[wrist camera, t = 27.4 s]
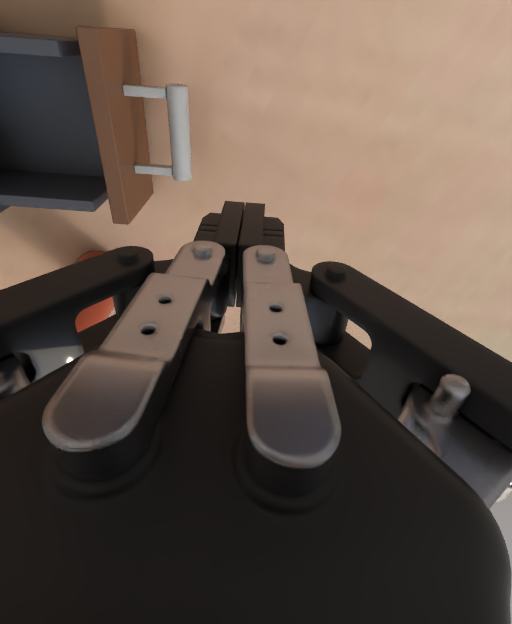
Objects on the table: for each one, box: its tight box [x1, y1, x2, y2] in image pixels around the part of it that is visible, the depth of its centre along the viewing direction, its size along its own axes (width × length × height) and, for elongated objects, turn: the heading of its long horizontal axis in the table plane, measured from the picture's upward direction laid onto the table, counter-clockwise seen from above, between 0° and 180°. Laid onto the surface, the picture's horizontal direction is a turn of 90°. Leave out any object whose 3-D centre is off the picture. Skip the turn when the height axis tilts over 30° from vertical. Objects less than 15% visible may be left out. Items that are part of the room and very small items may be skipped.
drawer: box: [0, 26, 192, 224], centre depth 26 cm, size 18×11×7 cm, turn 86°
